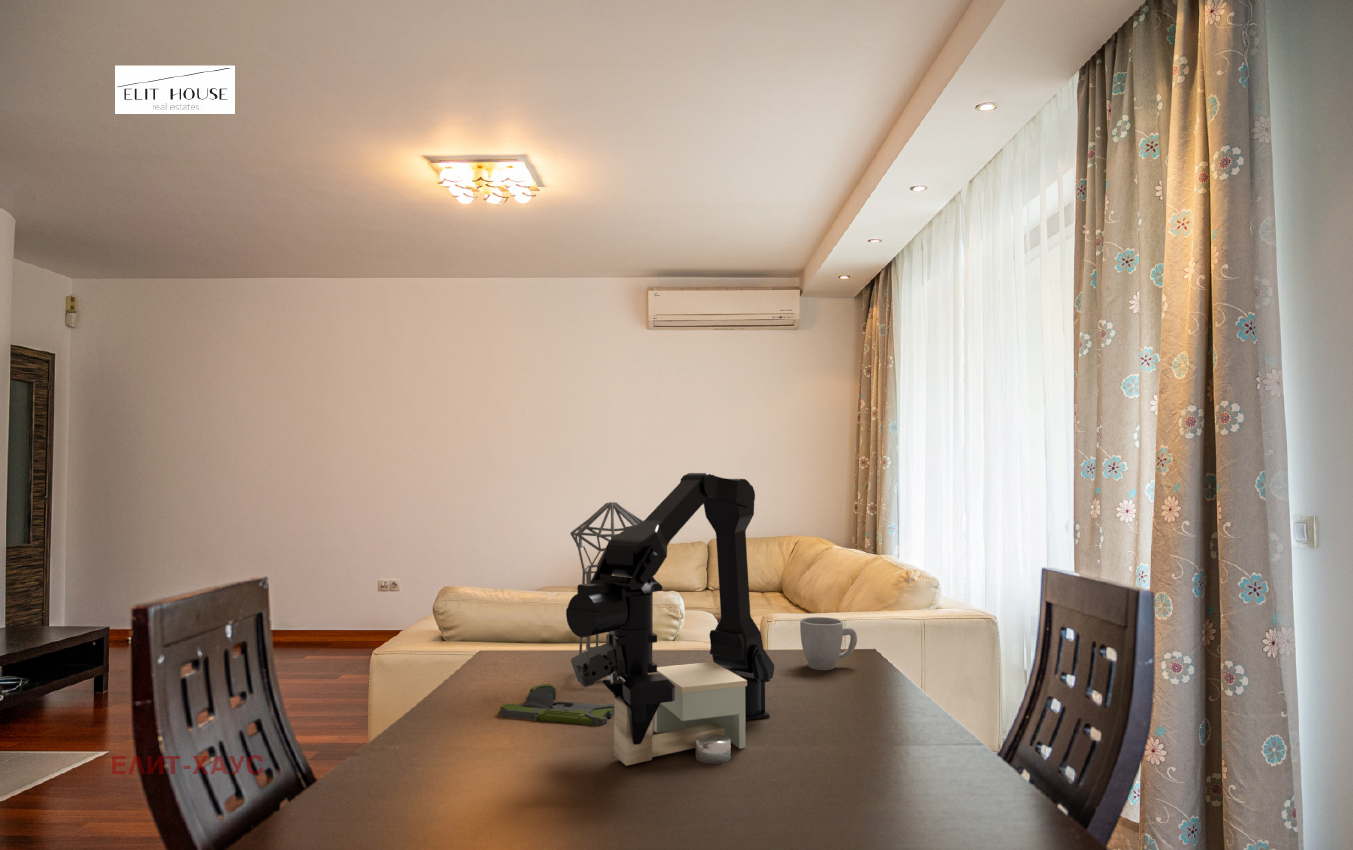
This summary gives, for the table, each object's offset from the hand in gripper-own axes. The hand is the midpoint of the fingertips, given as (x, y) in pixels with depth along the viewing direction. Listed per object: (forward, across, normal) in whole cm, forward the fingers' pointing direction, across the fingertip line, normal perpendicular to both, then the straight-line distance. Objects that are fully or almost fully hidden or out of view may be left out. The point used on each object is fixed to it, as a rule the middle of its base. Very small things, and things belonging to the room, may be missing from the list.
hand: (631, 738), depth 109 cm
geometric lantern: (+4, -46, +10) cm, 47 cm away
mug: (+4, -37, +56) cm, 67 cm away
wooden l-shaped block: (+3, -1, +6) cm, 7 cm away
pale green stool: (+3, -6, +12) cm, 14 cm away
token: (+3, +2, +12) cm, 12 cm away
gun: (+4, -28, -3) cm, 29 cm away
